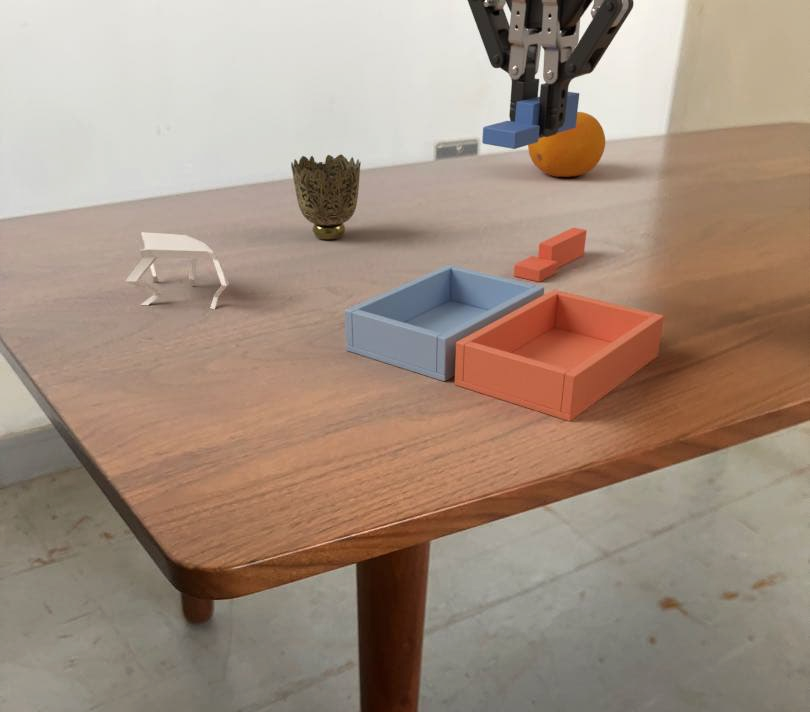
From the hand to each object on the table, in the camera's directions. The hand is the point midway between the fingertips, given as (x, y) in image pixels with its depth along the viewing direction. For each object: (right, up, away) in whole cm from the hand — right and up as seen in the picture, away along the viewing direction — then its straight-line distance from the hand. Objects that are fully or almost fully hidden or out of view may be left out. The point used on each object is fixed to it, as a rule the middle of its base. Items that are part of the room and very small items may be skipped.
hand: (535, 132), depth 73 cm
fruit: (+12, +18, +55) cm, 59 cm away
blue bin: (-7, -15, +6) cm, 17 cm away
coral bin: (+2, -19, 0) cm, 19 cm away
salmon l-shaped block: (+5, -4, +22) cm, 23 cm away
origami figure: (-31, -10, +14) cm, 36 cm away
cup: (-19, +2, +30) cm, 36 cm away
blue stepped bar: (0, 0, +1) cm, 1 cm away
